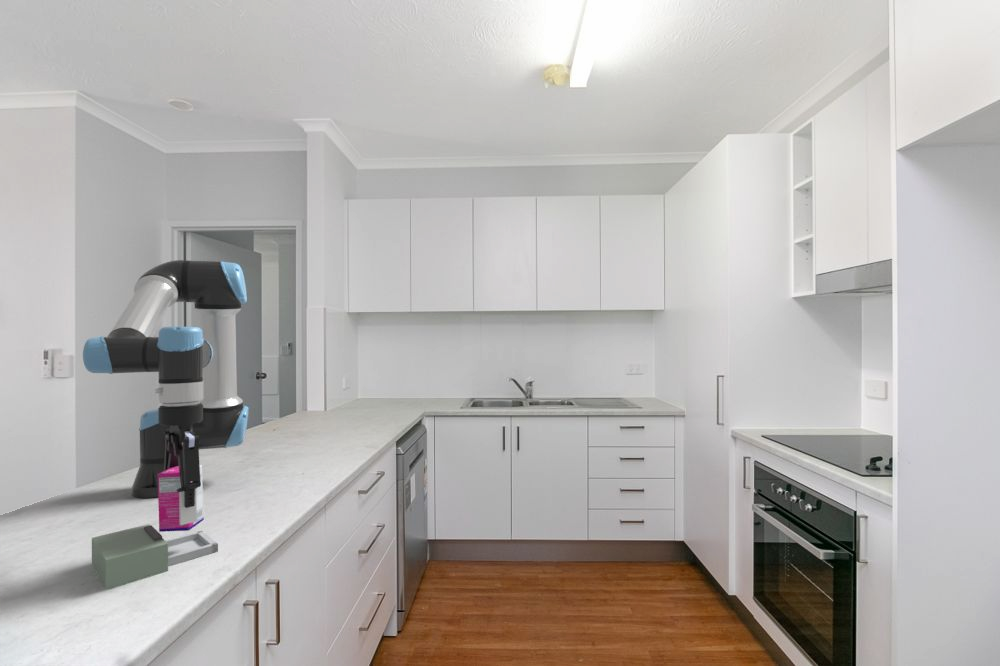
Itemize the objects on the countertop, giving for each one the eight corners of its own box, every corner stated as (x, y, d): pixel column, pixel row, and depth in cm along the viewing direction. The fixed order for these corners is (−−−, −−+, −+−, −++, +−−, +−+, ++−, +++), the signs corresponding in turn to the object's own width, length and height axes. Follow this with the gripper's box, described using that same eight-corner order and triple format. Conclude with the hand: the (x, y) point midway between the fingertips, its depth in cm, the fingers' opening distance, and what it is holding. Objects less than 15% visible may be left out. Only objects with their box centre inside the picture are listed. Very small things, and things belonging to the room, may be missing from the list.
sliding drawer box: (91, 564, 93) (91, 534, 93) (198, 535, 106) (198, 509, 106) (106, 589, 83) (106, 556, 83) (221, 554, 97) (221, 525, 97)
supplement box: (174, 521, 100) (174, 465, 100) (204, 520, 101) (204, 464, 101) (156, 532, 94) (156, 473, 95) (189, 531, 95) (188, 472, 95)
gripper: (145, 401, 102) (145, 510, 102) (174, 410, 88) (174, 537, 88) (186, 397, 108) (187, 501, 107) (219, 405, 94) (220, 525, 93)
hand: (181, 517), depth 98 cm, fingers closed on supplement box, 8 cm apart
